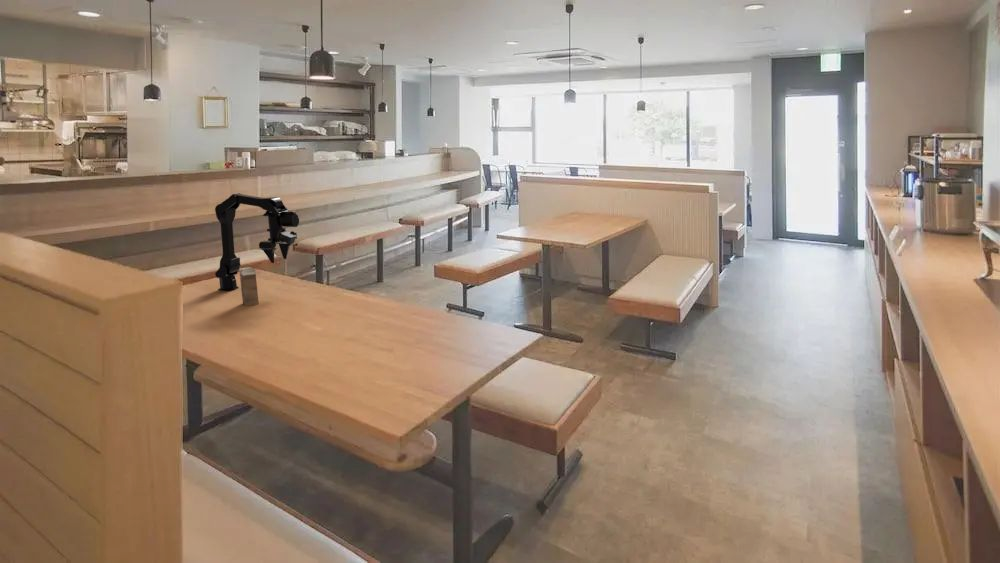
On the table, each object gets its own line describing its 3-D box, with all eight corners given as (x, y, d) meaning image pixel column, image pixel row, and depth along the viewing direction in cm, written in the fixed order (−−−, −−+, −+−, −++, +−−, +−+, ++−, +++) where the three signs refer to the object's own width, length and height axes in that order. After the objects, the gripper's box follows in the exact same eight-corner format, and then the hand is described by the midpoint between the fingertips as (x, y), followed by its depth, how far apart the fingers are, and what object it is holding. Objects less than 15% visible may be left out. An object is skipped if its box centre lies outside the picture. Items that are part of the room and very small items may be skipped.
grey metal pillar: (242, 303, 264) (239, 268, 261) (254, 301, 267) (251, 267, 264) (246, 305, 260) (242, 270, 257) (258, 303, 263) (255, 269, 260)
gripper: (279, 230, 264) (282, 266, 268) (303, 223, 281) (306, 257, 285) (256, 229, 267) (260, 265, 270) (282, 223, 284) (285, 256, 288)
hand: (279, 261), depth 278 cm, fingers open, 9 cm apart
